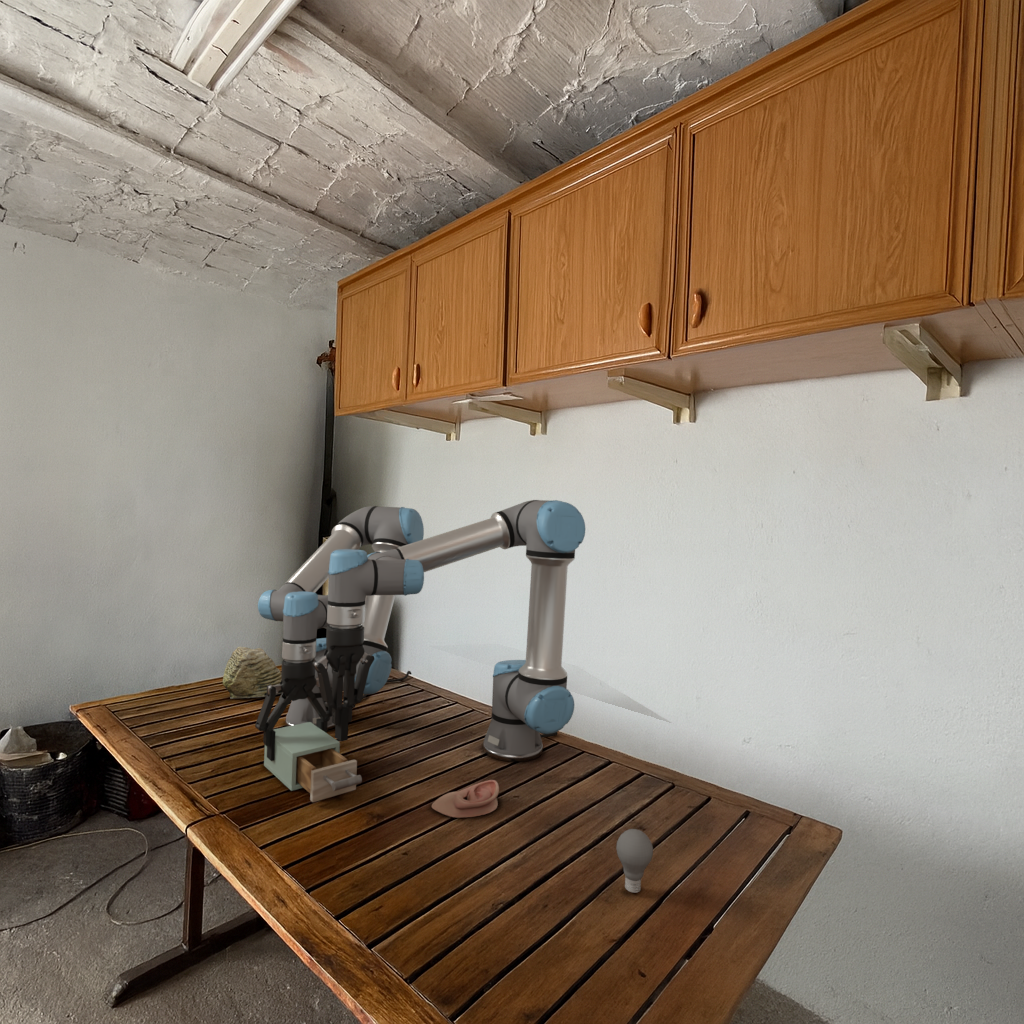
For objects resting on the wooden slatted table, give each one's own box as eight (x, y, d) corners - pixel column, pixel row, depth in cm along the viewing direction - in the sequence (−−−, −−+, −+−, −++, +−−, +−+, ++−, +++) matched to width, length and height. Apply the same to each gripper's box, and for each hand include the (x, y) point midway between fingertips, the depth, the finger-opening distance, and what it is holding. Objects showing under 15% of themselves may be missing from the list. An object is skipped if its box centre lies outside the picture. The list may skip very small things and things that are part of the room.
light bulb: (610, 879, 108) (613, 822, 108) (644, 879, 109) (647, 822, 109) (619, 902, 102) (622, 840, 102) (655, 901, 103) (658, 840, 103)
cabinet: (338, 777, 143) (339, 742, 143) (291, 791, 136) (292, 753, 136) (308, 754, 155) (310, 721, 155) (263, 765, 148) (265, 731, 148)
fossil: (218, 695, 195) (220, 647, 195) (278, 685, 208) (279, 640, 207) (228, 703, 189) (230, 653, 188) (289, 692, 201) (290, 645, 201)
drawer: (369, 800, 131) (370, 770, 131) (325, 814, 125) (326, 783, 125) (325, 766, 147) (326, 739, 146) (284, 776, 140) (285, 749, 140)
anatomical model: (427, 794, 128) (444, 771, 139) (426, 813, 128) (443, 788, 139) (490, 803, 125) (503, 779, 137) (489, 823, 126) (502, 797, 137)
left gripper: (253, 669, 137) (249, 770, 137) (352, 655, 152) (349, 746, 153) (241, 662, 142) (238, 759, 143) (338, 649, 158) (335, 737, 158)
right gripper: (323, 631, 123) (319, 751, 123) (383, 625, 132) (378, 737, 132) (307, 624, 129) (303, 739, 129) (365, 618, 137) (361, 726, 138)
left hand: (295, 752), depth 148 cm, fingers closed on cabinet, 11 cm apart
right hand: (341, 738), depth 131 cm, fingers closed
